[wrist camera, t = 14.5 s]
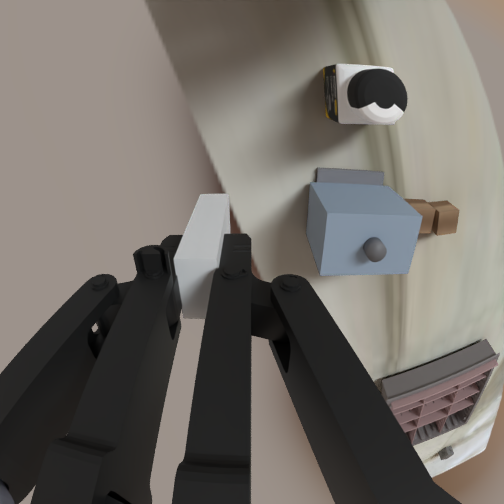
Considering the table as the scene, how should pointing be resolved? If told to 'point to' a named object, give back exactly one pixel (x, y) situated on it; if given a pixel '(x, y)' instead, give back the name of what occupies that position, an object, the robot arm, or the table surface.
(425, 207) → the cube
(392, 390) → the organizer tray
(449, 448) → the dice cube
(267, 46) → the table surface
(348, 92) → the medicine bottle
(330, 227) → the cover
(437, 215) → the cube
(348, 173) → the mat
